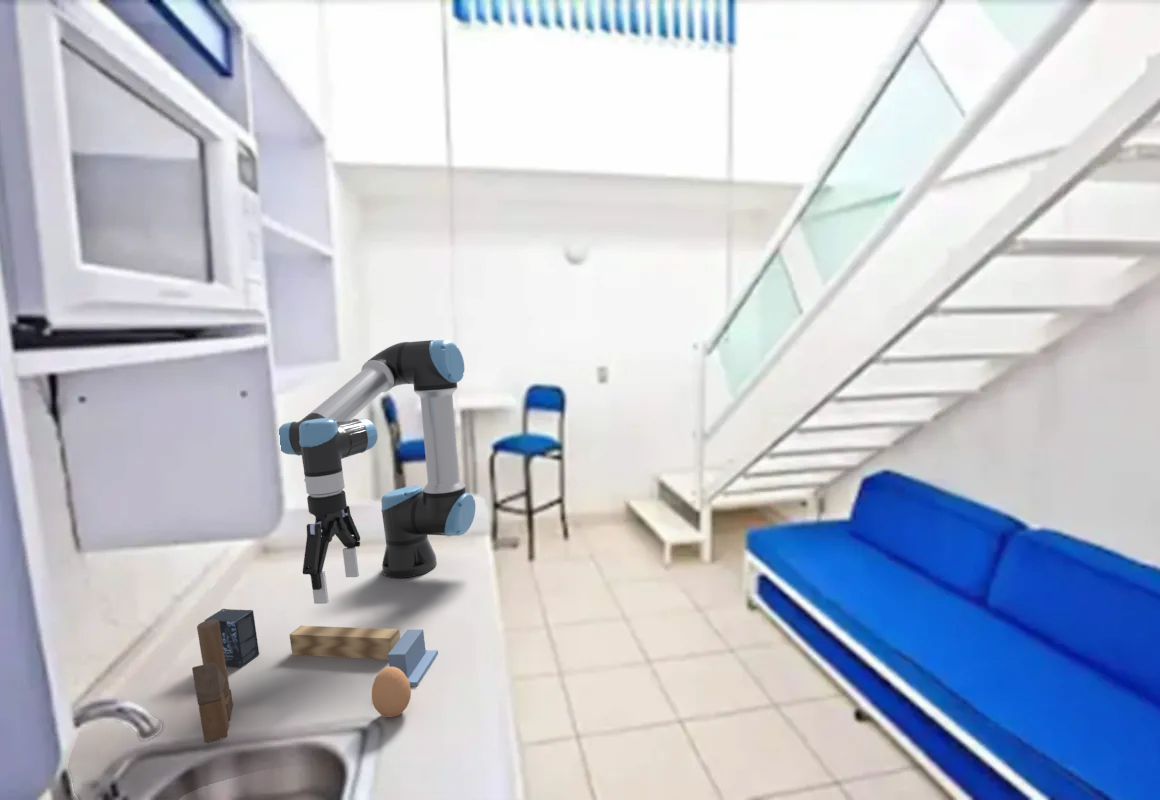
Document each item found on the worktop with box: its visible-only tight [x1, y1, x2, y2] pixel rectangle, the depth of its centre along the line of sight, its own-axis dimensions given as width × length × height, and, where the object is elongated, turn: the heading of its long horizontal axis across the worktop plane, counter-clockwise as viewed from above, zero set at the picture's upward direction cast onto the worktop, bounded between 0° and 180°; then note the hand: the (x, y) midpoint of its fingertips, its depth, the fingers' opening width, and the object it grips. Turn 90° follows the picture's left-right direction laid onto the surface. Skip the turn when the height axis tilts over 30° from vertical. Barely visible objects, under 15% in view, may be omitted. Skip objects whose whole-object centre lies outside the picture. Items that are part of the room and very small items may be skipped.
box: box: [204, 608, 260, 668], centre depth 142 cm, size 8×6×11 cm
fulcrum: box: [387, 629, 439, 687], centre depth 133 cm, size 12×8×6 cm, turn 173°
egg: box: [371, 666, 412, 718], centre depth 117 cm, size 7×7×9 cm
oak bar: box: [289, 625, 401, 660], centre depth 142 cm, size 24×4×5 cm, turn 78°
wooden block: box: [191, 619, 234, 743], centre depth 118 cm, size 4×11×18 cm, turn 23°
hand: (337, 589), depth 140 cm, fingers open, 13 cm apart
